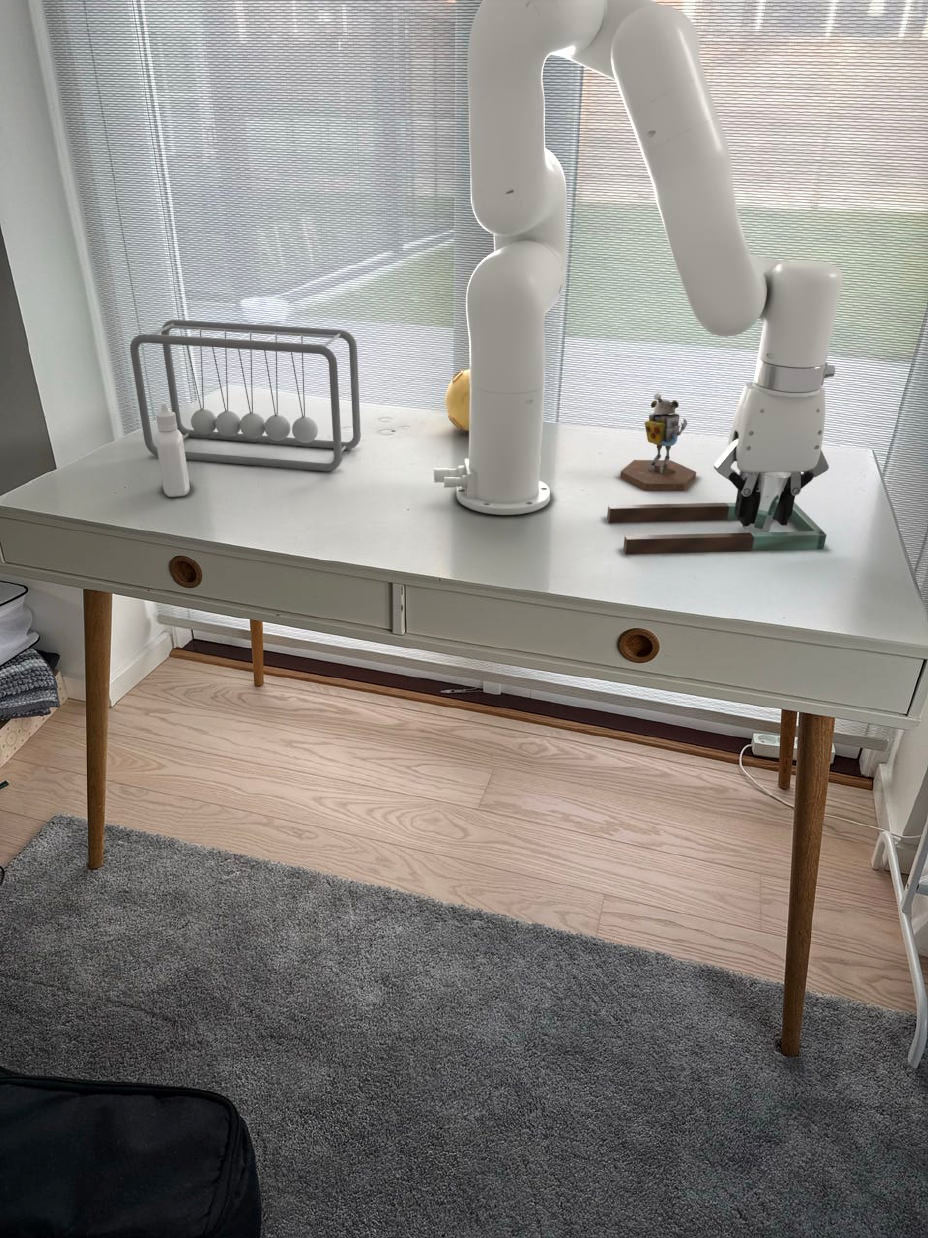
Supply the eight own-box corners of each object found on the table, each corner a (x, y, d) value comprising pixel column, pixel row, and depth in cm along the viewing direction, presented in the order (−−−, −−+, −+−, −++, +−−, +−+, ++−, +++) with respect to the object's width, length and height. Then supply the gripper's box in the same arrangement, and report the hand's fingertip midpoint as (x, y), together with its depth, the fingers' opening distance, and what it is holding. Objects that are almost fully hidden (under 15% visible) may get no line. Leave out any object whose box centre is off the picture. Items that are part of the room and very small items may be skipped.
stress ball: (439, 422, 155) (439, 361, 150) (497, 419, 157) (499, 358, 152) (453, 442, 147) (453, 378, 142) (514, 438, 149) (516, 375, 144)
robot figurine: (710, 485, 133) (723, 401, 127) (659, 497, 129) (670, 411, 123) (657, 460, 141) (667, 380, 135) (608, 471, 137) (616, 389, 131)
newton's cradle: (362, 449, 144) (357, 329, 135) (341, 473, 135) (334, 347, 126) (177, 434, 149) (161, 318, 140) (145, 457, 140) (125, 334, 131)
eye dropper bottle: (201, 484, 131) (189, 398, 125) (182, 499, 126) (169, 411, 120) (172, 481, 132) (159, 396, 126) (152, 496, 127) (137, 408, 121)
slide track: (625, 554, 113) (627, 539, 112) (606, 519, 122) (608, 504, 121) (823, 549, 115) (827, 534, 114) (790, 515, 124) (793, 501, 123)
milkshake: (781, 541, 117) (805, 464, 112) (738, 533, 117) (759, 456, 112) (779, 527, 121) (801, 452, 116) (736, 519, 121) (756, 444, 116)
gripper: (844, 366, 113) (813, 508, 122) (707, 367, 112) (686, 510, 121) (873, 384, 107) (838, 532, 116) (728, 385, 105) (704, 535, 114)
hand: (761, 520), depth 118 cm, fingers closed on milkshake, 4 cm apart
